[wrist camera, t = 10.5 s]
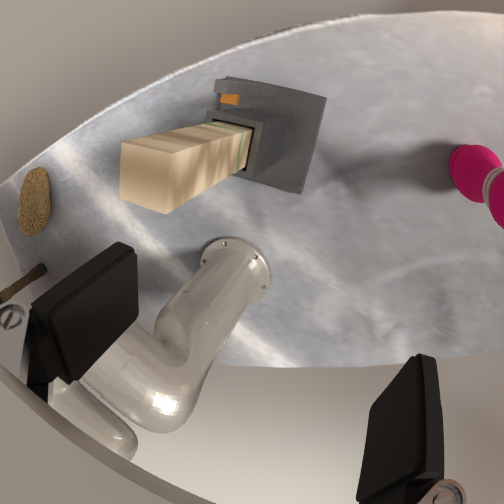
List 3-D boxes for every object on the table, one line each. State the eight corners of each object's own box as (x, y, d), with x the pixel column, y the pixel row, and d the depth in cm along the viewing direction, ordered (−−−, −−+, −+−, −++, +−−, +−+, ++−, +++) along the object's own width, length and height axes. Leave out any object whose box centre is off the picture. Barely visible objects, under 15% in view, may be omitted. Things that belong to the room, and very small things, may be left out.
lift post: (261, 158, 36) (166, 215, 19) (229, 150, 37) (118, 198, 20) (268, 125, 34) (172, 153, 17) (235, 118, 35) (121, 141, 18)
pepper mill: (466, 202, 36) (524, 271, 19) (435, 165, 36) (486, 214, 19) (497, 168, 32) (572, 218, 15) (467, 130, 32) (538, 154, 15)
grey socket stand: (302, 191, 44) (266, 243, 29) (214, 165, 47) (142, 201, 32) (327, 97, 37) (304, 91, 22) (230, 76, 40) (156, 68, 25)
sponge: (46, 233, 72) (62, 210, 60) (22, 242, 67) (32, 220, 54) (33, 190, 71) (48, 158, 58) (10, 198, 65) (19, 165, 52)
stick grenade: (44, 253, 75) (-34, 308, 49) (56, 280, 78) (-18, 338, 53) (32, 255, 78) (-40, 306, 53) (43, 280, 81) (-25, 334, 56)
